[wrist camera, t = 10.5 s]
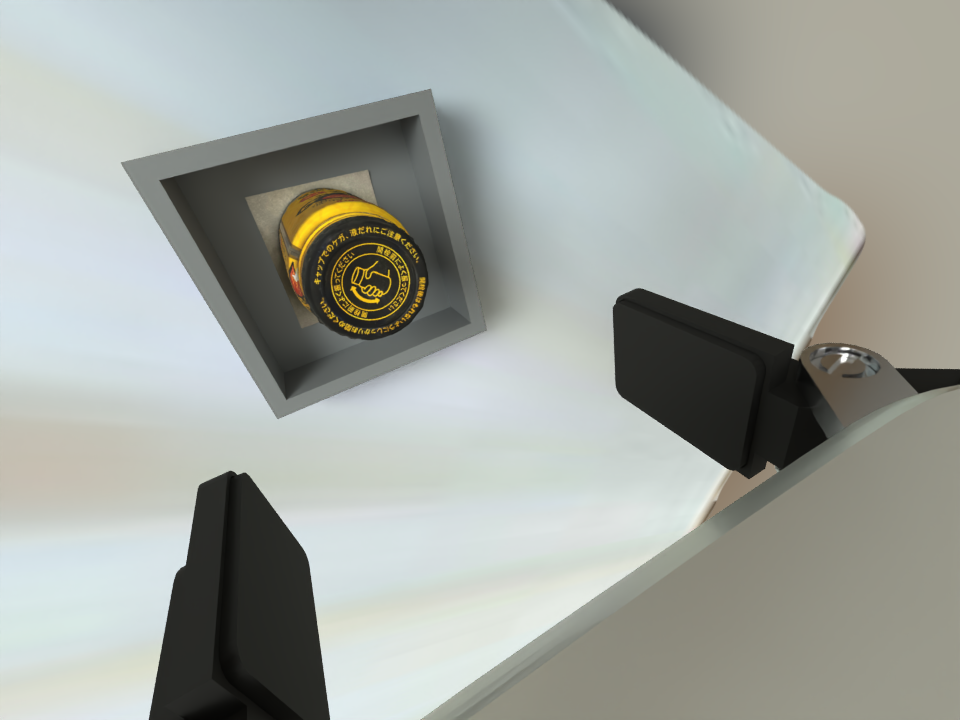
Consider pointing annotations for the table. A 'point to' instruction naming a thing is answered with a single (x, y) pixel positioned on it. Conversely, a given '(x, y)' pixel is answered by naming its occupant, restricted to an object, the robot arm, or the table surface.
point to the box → (249, 267)
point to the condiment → (342, 256)
